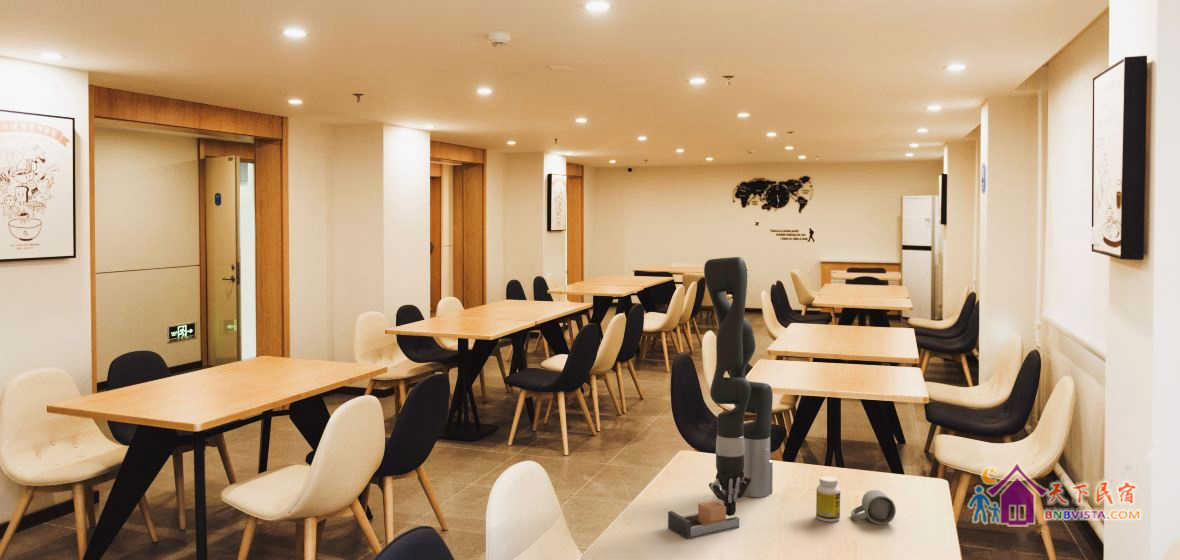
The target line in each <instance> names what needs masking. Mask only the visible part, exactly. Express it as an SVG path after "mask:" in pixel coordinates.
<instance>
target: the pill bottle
mask: <svg viewBox="0 0 1180 560" xmlns="http://www.w3.org/2000/svg"><path fill="white" fill-rule="evenodd" d="M815 507H816V508H815V510H816V512H815V516H816V519H818V520H819V521H823V522H827V523H833V522H834V523H835V522H838V521H840V518H841V489H840V488H839V486H838V478H837V477H835V476H830V475H823V476H820V477H819V484H818V486H817V487H816V505H815Z"/></svg>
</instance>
